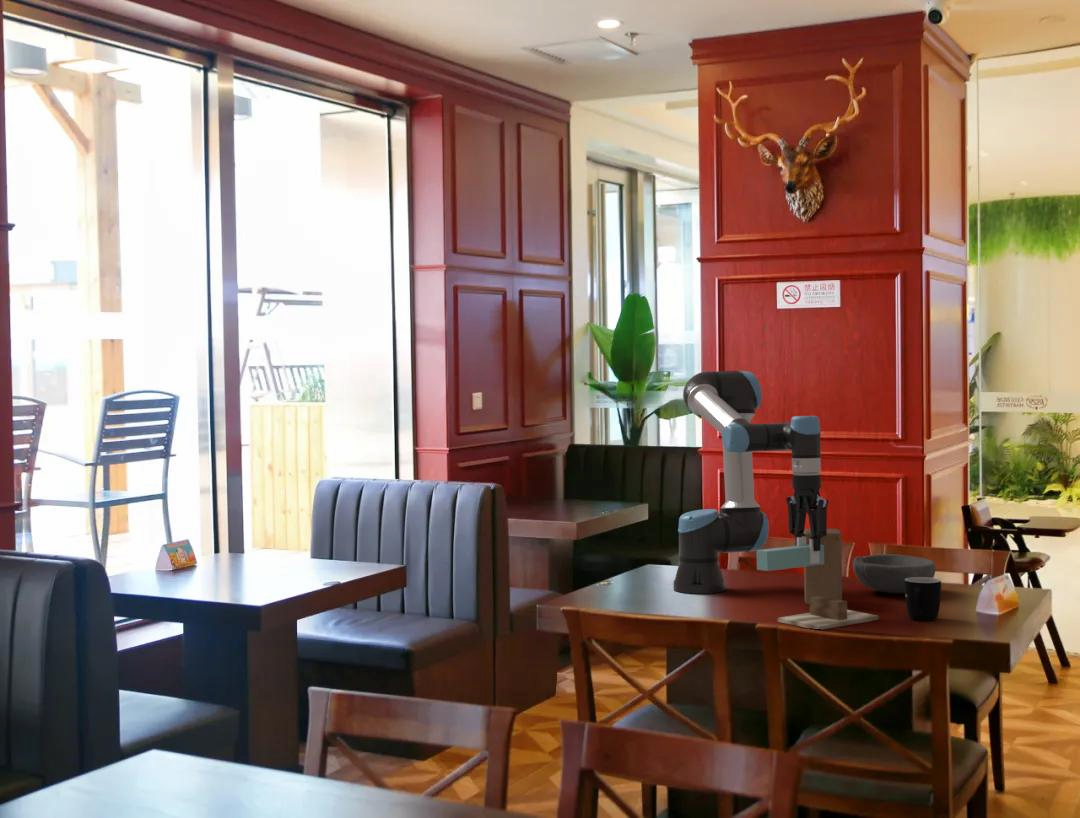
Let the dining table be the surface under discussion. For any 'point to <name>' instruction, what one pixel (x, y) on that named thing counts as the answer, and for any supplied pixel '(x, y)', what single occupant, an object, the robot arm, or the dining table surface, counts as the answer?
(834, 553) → the wooden block
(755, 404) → the robot arm
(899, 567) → the bowl
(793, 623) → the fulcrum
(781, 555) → the bar
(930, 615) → the mug
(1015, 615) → the dining table surface
